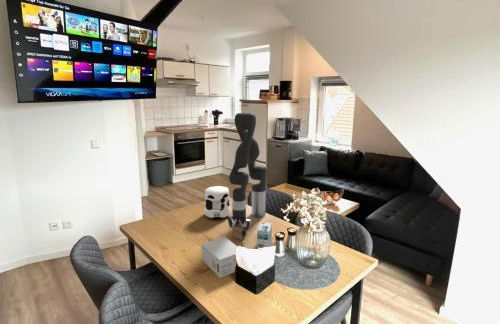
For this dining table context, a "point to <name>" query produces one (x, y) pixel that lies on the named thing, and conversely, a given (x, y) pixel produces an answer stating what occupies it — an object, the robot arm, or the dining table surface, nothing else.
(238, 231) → the walnut block
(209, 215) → the milk container
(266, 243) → the light bulb box
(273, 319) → the dining table surface
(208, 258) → the supplement box
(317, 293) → the dining table surface
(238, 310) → the dining table surface
